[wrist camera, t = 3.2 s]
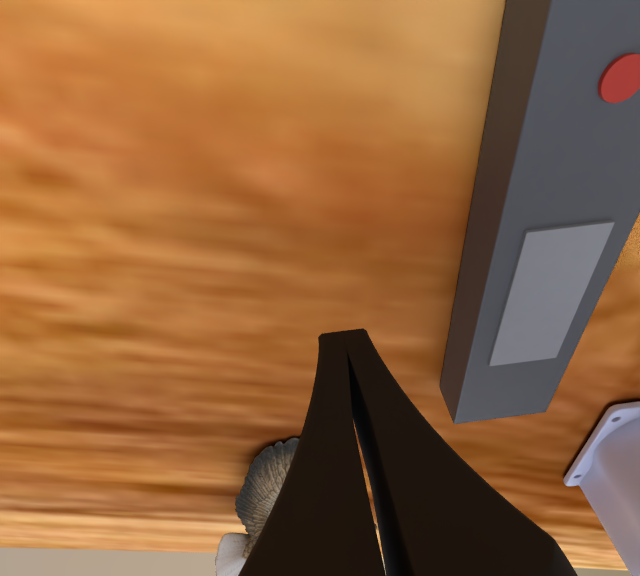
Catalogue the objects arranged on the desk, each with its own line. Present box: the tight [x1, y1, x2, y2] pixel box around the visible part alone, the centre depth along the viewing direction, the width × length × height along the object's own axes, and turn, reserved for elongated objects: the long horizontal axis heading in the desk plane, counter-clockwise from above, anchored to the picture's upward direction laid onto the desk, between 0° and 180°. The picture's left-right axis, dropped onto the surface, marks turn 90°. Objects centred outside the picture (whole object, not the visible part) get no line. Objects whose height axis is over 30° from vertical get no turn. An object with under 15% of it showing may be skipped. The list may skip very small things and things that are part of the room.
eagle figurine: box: [215, 438, 377, 576], centre depth 24 cm, size 8×7×9 cm
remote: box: [440, 0, 640, 424], centre depth 15 cm, size 17×4×2 cm, turn 5°
